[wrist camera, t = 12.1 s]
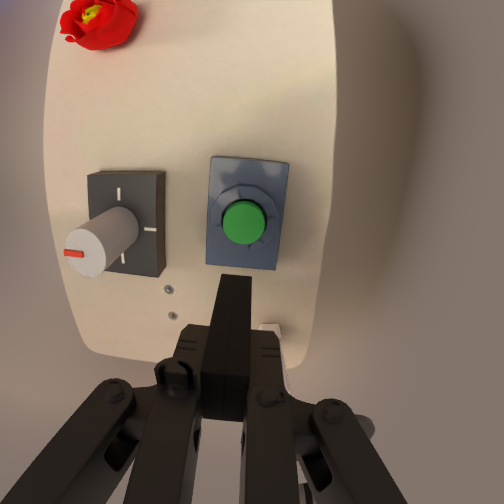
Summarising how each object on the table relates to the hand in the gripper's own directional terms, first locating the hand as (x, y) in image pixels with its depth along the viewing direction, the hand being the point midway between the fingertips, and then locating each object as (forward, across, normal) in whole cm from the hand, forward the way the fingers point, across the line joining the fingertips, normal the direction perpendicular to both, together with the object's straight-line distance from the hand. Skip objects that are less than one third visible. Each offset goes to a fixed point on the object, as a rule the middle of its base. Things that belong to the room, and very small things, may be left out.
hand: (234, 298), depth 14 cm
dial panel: (+18, -14, -2) cm, 23 cm away
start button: (+15, 0, 0) cm, 15 cm away
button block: (+18, 0, 0) cm, 18 cm away
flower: (+19, -18, +23) cm, 35 cm away
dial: (+15, -14, -2) cm, 21 cm away
